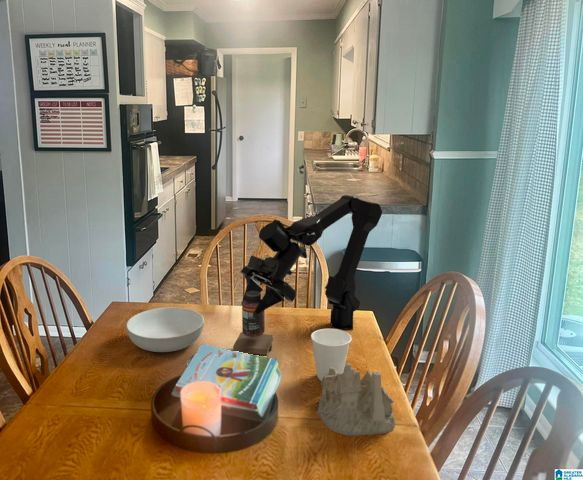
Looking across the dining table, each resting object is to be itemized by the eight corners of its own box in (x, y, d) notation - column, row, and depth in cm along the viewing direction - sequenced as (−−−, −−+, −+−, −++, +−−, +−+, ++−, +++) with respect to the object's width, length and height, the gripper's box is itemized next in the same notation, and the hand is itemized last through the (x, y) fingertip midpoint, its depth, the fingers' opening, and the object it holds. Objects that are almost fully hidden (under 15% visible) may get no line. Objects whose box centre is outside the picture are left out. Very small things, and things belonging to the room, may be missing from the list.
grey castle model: (400, 436, 106) (401, 367, 104) (319, 437, 106) (319, 368, 103) (385, 399, 122) (386, 338, 119) (315, 400, 122) (315, 339, 119)
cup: (354, 373, 131) (357, 333, 129) (341, 392, 123) (343, 349, 120) (318, 364, 135) (319, 325, 133) (302, 382, 127) (304, 340, 124)
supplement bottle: (260, 327, 143) (261, 288, 140) (267, 336, 137) (268, 295, 134) (239, 330, 141) (239, 290, 138) (245, 339, 135) (245, 298, 132)
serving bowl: (111, 352, 139) (109, 328, 138) (158, 324, 158) (157, 302, 157) (176, 368, 132) (175, 343, 130) (218, 336, 151) (218, 314, 149)
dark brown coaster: (272, 348, 144) (272, 334, 143) (266, 363, 135) (267, 349, 134) (240, 345, 145) (240, 332, 144) (233, 360, 136) (232, 346, 135)
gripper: (246, 237, 142) (211, 283, 139) (287, 252, 128) (250, 304, 124) (269, 259, 149) (237, 304, 145) (311, 276, 135) (277, 326, 131)
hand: (249, 309), depth 136 cm, fingers closed on supplement bottle, 6 cm apart
